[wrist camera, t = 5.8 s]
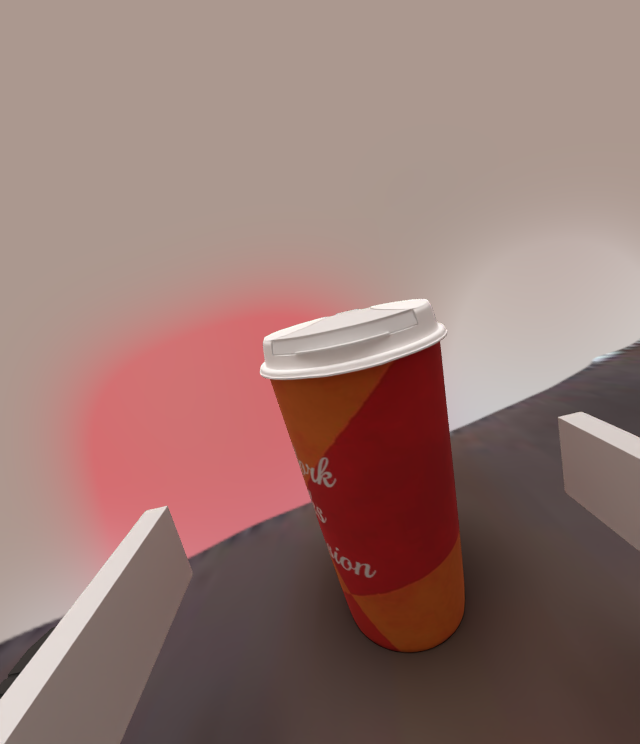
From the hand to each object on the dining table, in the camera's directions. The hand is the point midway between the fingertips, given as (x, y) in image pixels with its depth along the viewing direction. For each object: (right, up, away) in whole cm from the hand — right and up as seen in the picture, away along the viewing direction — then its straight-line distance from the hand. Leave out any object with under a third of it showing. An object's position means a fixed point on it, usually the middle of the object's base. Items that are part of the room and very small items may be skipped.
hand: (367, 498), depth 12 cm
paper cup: (+3, -7, +6) cm, 10 cm away
